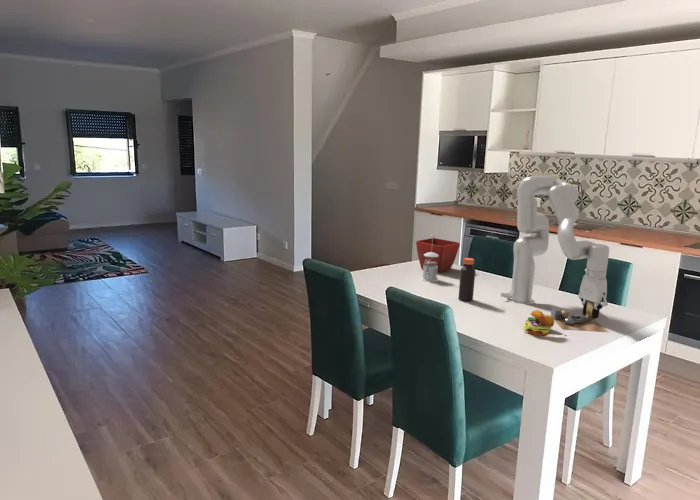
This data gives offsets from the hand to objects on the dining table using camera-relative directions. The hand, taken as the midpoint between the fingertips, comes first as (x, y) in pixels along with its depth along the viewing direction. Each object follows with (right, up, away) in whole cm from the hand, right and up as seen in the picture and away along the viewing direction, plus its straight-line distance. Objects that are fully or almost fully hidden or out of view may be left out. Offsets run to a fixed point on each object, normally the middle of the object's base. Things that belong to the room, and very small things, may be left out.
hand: (590, 315), depth 213 cm
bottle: (-46, +4, +30) cm, 55 cm away
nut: (-10, -2, +4) cm, 10 cm away
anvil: (-13, -1, +4) cm, 14 cm away
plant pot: (-50, +16, +89) cm, 103 cm away
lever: (-5, -2, -1) cm, 6 cm away
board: (-6, -4, -2) cm, 8 cm away
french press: (-58, +11, +64) cm, 87 cm away
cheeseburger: (-26, -5, -11) cm, 29 cm away
